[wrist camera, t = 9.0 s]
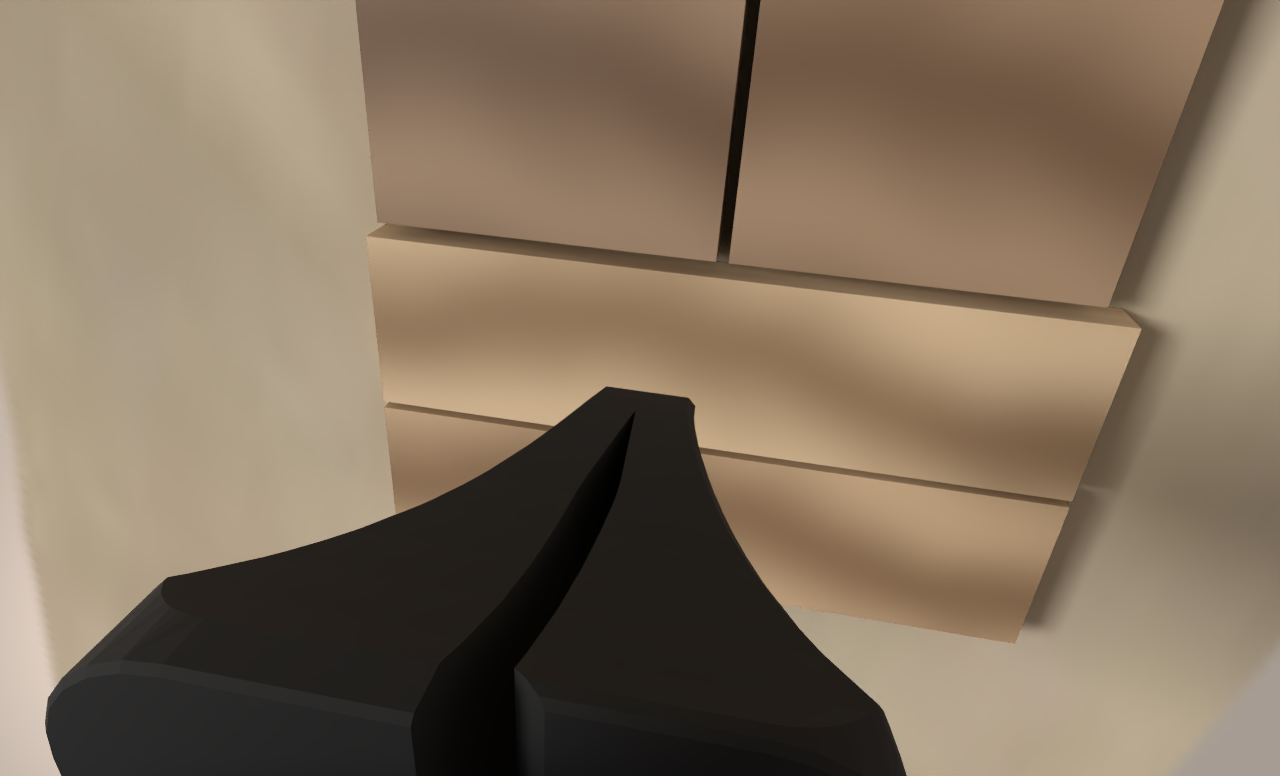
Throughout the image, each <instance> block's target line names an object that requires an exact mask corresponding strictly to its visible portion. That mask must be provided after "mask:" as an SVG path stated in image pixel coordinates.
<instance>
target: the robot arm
mask: <svg viewBox="0 0 1280 776" xmlns="http://www.w3.org/2000/svg"><path fill="white" fill-rule="evenodd" d="M694 415H695V405H694V404H693V402H692V401H691V400H690V399H689V398H688V397H680V396H673V395H666V394H659V393H651V392H644V391H637V390H630V389H622V388H615V387H608V386H606V387H605V388H603V389H602V390H601V391H599V392H598V393H597V394H595V395H594V396H592V397H591V398H590V399H589V400H587V401H586V402H585V403H583V404H582V405H581V406H580V407H578V408H577V409H576V410H574V411H573V412H572V413H571V414H569V415H568V416H567V417H565V418H564V419H563V420H562V421H560V422H559V423H558V424H556V425H555V426H554V427H552V428H551V429H549V430H548V431H547V432H545V433H544V434H543V435H541V436H540V437H539V438H537V439H536V440H534V441H533V442H532V443H530V444H529V445H527V446H526V447H524V448H523V449H521V450H520V451H518V452H516V453H515V454H513V455H512V456H510V457H509V458H507V459H505V460H504V461H502V462H501V463H499V464H498V465H496V466H495V467H493V468H491V469H490V470H488V471H486V472H485V473H483V474H481V475H479V476H477V477H476V478H474V479H472V480H470V481H468V482H466V483H465V484H463V485H461V486H459V487H457V488H455V489H453V490H451V491H448V492H446V493H444V494H442V495H440V496H438V497H436V498H434V499H432V500H430V501H428V502H426V503H423V504H421V505H419V506H416V507H414V508H411V509H408V510H406V511H403V512H401V513H398V514H396V515H393V516H391V517H388V518H386V519H383V520H381V521H378V522H376V523H373V524H371V525H368V526H366V527H363V528H360V529H357V530H354V531H351V532H348V533H345V534H342V535H339V536H336V537H333V538H330V539H327V540H324V541H320V542H317V543H313V544H310V545H306V546H303V547H299V548H296V549H293V550H289V551H285V552H282V553H278V554H274V555H270V556H266V557H262V558H258V559H253V560H248V561H244V562H239V563H235V564H230V565H226V566H221V567H216V568H212V569H207V570H203V571H198V572H193V573H189V574H183V575H178V576H172V577H167V578H166V579H165V580H164V581H163V582H162V583H161V584H160V585H158V586H157V587H156V588H155V589H154V590H153V591H152V592H151V593H150V594H149V595H148V596H147V597H146V598H145V599H144V600H143V601H142V602H141V603H140V604H138V605H137V606H136V607H135V608H134V609H133V610H132V611H131V612H130V613H129V614H128V615H127V616H126V617H125V618H124V619H123V620H122V621H121V622H120V623H119V624H118V625H117V626H116V627H115V628H114V629H113V630H111V631H110V632H109V633H108V634H107V635H106V636H105V637H104V638H103V639H102V640H101V641H100V642H99V643H98V644H97V645H96V646H95V647H94V648H93V649H92V650H91V651H90V652H89V653H88V654H87V655H86V656H85V657H83V658H82V659H81V660H80V661H79V662H78V663H77V664H76V665H75V666H74V667H73V668H72V669H71V670H70V671H69V672H68V673H67V674H66V675H65V676H64V677H63V678H62V679H61V680H60V682H59V683H58V685H57V686H56V687H55V689H54V690H53V692H52V693H51V694H50V696H49V697H48V703H47V711H46V720H45V726H46V734H47V737H48V740H49V744H50V747H51V751H52V755H53V758H54V760H55V763H56V765H57V767H58V769H59V771H60V774H61V776H907V775H906V772H905V769H904V766H903V763H902V760H901V756H900V753H899V751H898V748H897V745H896V742H895V740H894V737H893V734H892V731H891V729H890V726H889V723H888V721H887V718H886V716H885V713H884V711H883V710H882V708H881V707H880V706H879V705H878V704H877V703H876V702H875V701H874V700H873V699H872V698H870V697H869V696H868V695H867V694H866V693H865V692H864V691H863V690H862V689H861V688H859V687H858V686H857V685H856V684H855V683H854V682H853V681H852V680H851V679H850V678H848V677H847V676H846V675H845V674H844V673H843V672H842V671H841V670H840V669H839V668H837V667H836V666H835V665H834V664H833V663H832V662H831V661H830V660H829V659H828V658H826V657H825V656H824V655H823V654H822V653H821V652H820V651H819V650H818V649H817V648H816V646H815V645H814V644H813V643H812V642H811V641H810V640H809V639H808V638H807V637H806V636H805V635H804V633H803V632H802V631H801V630H800V629H799V628H798V627H797V625H796V624H795V623H794V621H793V620H792V619H791V618H790V616H789V615H788V614H787V612H786V611H785V610H784V609H783V607H782V606H781V605H780V603H779V602H778V601H777V600H776V598H775V597H774V596H773V595H772V593H771V592H770V591H769V589H768V588H767V587H766V586H765V584H764V583H763V581H762V580H761V578H760V577H759V575H758V574H757V572H756V570H755V569H754V567H753V566H752V564H751V563H750V561H749V560H748V558H747V557H746V555H745V553H744V551H743V550H742V548H741V546H740V544H739V543H738V541H737V539H736V538H735V536H734V534H733V532H732V530H731V528H730V526H729V524H728V522H727V520H726V518H725V516H724V514H723V512H722V509H721V507H720V505H719V502H718V500H717V498H716V496H715V493H714V491H713V488H712V486H711V483H710V480H709V478H708V475H707V471H706V468H705V465H704V462H703V459H702V456H701V453H700V449H699V445H698V440H697V436H696V431H695V423H694Z"/></svg>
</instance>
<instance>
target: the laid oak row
mask: <svg viewBox="0 0 1280 776" xmlns="http://www.w3.org/2000/svg"><path fill="white" fill-rule="evenodd" d="M366 240H367V250H368V259H369V268H370V278H371V287H372V296H373V305H374V315H375V324H376V333H377V343H378V352H379V361H380V370H381V380H382V389H383V398H384V401H386V402H389V403H388V404H387V405H386V406H385V407H384V408H385V417H386V426H387V436H388V445H389V454H390V463H391V473H392V482H393V491H394V501H395V510H396V514H398V513H401V512H403V511H406V510H408V509H411V508H414V507H416V506H419V505H421V504H423V503H426V502H428V501H430V500H432V499H434V498H436V497H438V496H440V495H442V494H444V493H446V492H448V491H451V490H453V489H455V488H457V487H459V486H461V485H463V484H465V483H466V482H468V481H470V480H472V479H474V478H476V477H477V476H479V475H481V474H483V473H485V472H486V471H488V470H490V469H491V468H493V467H495V466H496V465H498V464H499V463H501V462H502V461H504V460H505V459H507V458H509V457H510V456H512V455H513V454H515V453H516V452H518V451H520V450H521V449H523V448H524V447H526V446H527V445H529V444H530V443H532V442H533V441H534V440H536V439H537V438H539V437H540V436H541V435H543V434H544V433H545V432H547V431H548V430H549V429H551V428H552V427H554V426H555V425H556V424H558V423H559V422H560V421H562V420H563V419H564V418H565V417H567V416H568V415H569V414H571V413H572V412H573V411H574V410H576V409H577V408H578V407H580V406H581V405H582V404H583V403H585V402H586V401H587V400H589V399H590V398H591V397H592V396H594V395H595V394H597V393H598V392H599V391H601V390H602V389H603V388H605V387H606V386H608V387H615V388H622V389H630V390H637V391H644V392H651V393H659V394H666V395H673V396H680V397H688V398H689V399H690V400H691V401H692V402H693V404H694V405H695V415H694V423H695V431H696V436H697V440H698V445H699V449H700V453H701V456H702V459H703V462H704V465H705V468H706V471H707V475H708V478H709V480H710V483H711V486H712V488H713V491H714V493H715V496H716V498H717V500H718V502H719V505H720V507H721V509H722V512H723V514H724V516H725V518H726V520H727V522H728V524H729V526H730V528H731V530H732V532H733V534H734V536H735V538H736V539H737V541H738V543H739V544H740V546H741V548H742V550H743V551H744V553H745V555H746V557H747V558H748V560H749V561H750V563H751V564H752V566H753V567H754V569H755V570H756V572H757V574H758V575H759V577H760V578H761V580H762V581H763V583H764V584H765V586H766V587H767V588H768V589H769V591H770V592H771V593H772V595H773V596H774V597H775V598H776V600H777V601H778V602H779V603H780V604H782V605H788V606H794V607H800V608H806V609H812V610H818V611H824V612H830V613H836V614H842V615H847V616H853V617H859V618H865V619H871V620H877V621H883V622H889V623H895V624H901V625H907V626H913V627H919V628H925V629H931V630H937V631H943V632H949V633H955V634H961V635H967V636H973V637H978V638H984V639H990V640H996V641H1002V642H1008V643H1014V644H1015V642H1016V640H1017V637H1018V635H1019V632H1020V630H1021V627H1022V625H1023V622H1024V620H1025V618H1026V615H1027V613H1028V610H1029V608H1030V605H1031V603H1032V600H1033V598H1034V595H1035V593H1036V590H1037V588H1038V585H1039V583H1040V580H1041V578H1042V575H1043V573H1044V570H1045V568H1046V565H1047V563H1048V560H1049V558H1050V555H1051V553H1052V550H1053V548H1054V546H1055V543H1056V541H1057V538H1058V536H1059V533H1060V531H1061V528H1062V526H1063V523H1064V521H1065V518H1066V516H1067V513H1068V511H1069V506H1068V504H1067V502H1066V501H1073V498H1074V496H1075V493H1076V491H1077V488H1078V486H1079V483H1080V481H1081V478H1082V476H1083V474H1084V471H1085V469H1086V466H1087V464H1088V461H1089V459H1090V456H1091V454H1092V451H1093V449H1094V446H1095V444H1096V441H1097V439H1098V436H1099V434H1100V431H1101V429H1102V426H1103V424H1104V421H1105V419H1106V416H1107V414H1108V411H1109V409H1110V406H1111V404H1112V402H1113V399H1114V397H1115V394H1116V392H1117V389H1118V387H1119V384H1120V382H1121V379H1122V377H1123V374H1124V372H1125V369H1126V367H1127V364H1128V362H1129V359H1130V357H1131V354H1132V352H1133V349H1134V347H1135V344H1136V342H1137V339H1138V337H1139V334H1140V332H1141V330H1142V329H1141V328H1140V326H1139V325H1138V324H1137V323H1136V322H1135V321H1134V320H1133V319H1132V318H1131V317H1130V316H1129V315H1128V314H1127V313H1126V312H1125V311H1124V310H1123V309H1119V308H1111V307H1108V308H1107V307H1098V306H1089V305H1081V304H1072V303H1064V302H1055V301H1047V300H1038V299H1029V298H1021V297H1012V296H1004V295H995V294H987V293H978V292H970V291H961V290H952V289H944V288H935V287H927V286H918V285H910V284H901V283H892V282H884V281H875V280H867V279H858V278H850V277H841V276H832V275H824V274H815V273H807V272H798V271H790V270H781V269H773V268H764V267H755V266H747V265H738V264H730V263H725V262H717V261H716V262H713V261H704V260H695V259H687V258H678V257H670V256H661V255H653V254H644V253H635V252H627V251H618V250H610V249H601V248H593V247H584V246H576V245H567V244H558V243H550V242H541V241H533V240H524V239H516V238H507V237H498V236H490V235H481V234H473V233H464V232H456V231H447V230H438V229H430V228H421V227H413V226H404V225H396V224H385V225H384V226H382V227H380V228H379V229H377V230H375V231H374V232H372V233H371V234H369V235H367V236H366Z"/></svg>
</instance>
